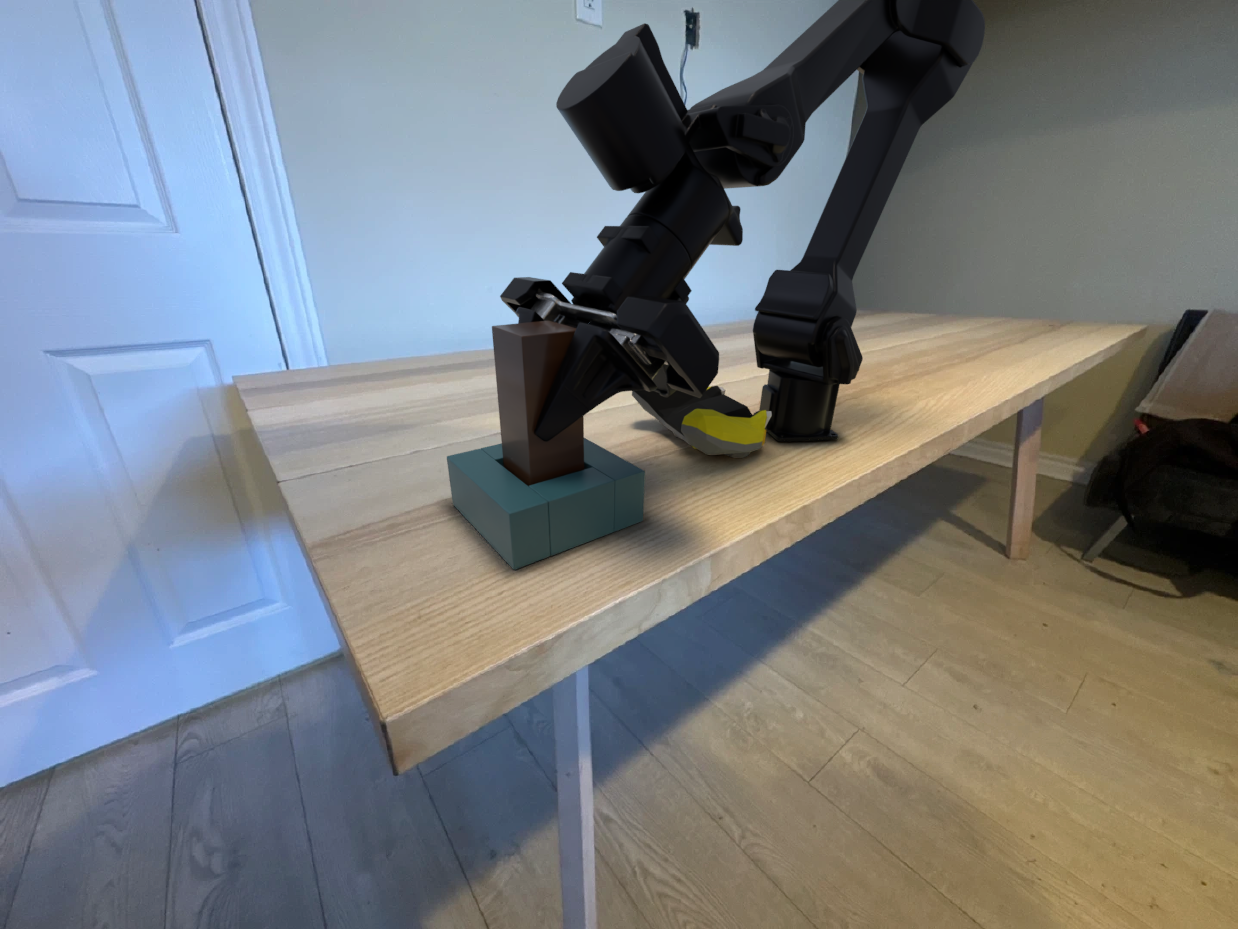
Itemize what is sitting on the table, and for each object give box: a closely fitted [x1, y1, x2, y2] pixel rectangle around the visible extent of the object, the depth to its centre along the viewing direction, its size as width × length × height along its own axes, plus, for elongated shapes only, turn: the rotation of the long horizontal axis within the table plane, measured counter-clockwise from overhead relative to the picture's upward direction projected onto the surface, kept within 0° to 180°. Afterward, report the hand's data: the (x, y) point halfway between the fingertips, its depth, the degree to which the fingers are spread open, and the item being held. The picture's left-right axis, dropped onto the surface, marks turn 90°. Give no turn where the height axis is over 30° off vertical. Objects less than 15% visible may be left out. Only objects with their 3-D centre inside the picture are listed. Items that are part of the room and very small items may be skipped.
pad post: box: [491, 321, 585, 486], centre depth 35 cm, size 4×4×13 cm
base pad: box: [446, 437, 646, 571], centre depth 37 cm, size 10×10×4 cm
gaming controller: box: [631, 385, 772, 459], centre depth 50 cm, size 15×6×10 cm
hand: (523, 427), depth 34 cm, fingers closed on pad post, 4 cm apart
